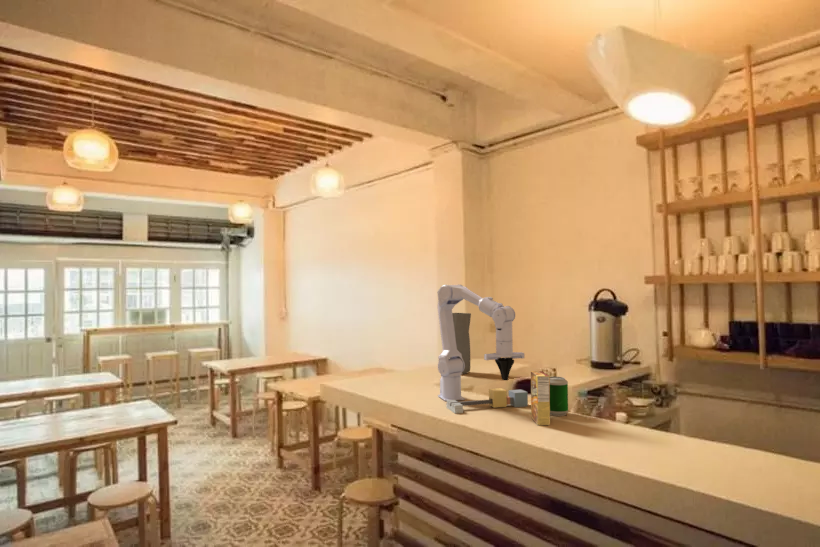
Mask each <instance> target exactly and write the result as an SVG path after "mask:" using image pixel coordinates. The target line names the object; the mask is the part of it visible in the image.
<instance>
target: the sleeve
mask: <svg viewBox="0 0 820 547" xmlns="http://www.w3.org/2000/svg"><path fill="white" fill-rule="evenodd" d="M507 392H508V390H506V389H504V388H502V387H501V388H489V389H488V400H490V399H493V404H488V405H489V406H490V407H492V408H506V407H507V396H508V395H507V394H508V393H507Z"/></svg>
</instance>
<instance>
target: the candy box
mask: <svg viewBox="0 0 820 547" xmlns="http://www.w3.org/2000/svg"><path fill="white" fill-rule="evenodd" d="M550 377H551V376H550V375H549V374H547V373H546V372H544V371H542V370H540V371H539V370H531V371H530V416H531V417H530V418H531V419H532V420H533V422H535V424H536V425H537V426H551V415H550Z"/></svg>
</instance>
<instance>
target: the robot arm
mask: <svg viewBox="0 0 820 547" xmlns="http://www.w3.org/2000/svg"><path fill="white" fill-rule="evenodd" d="M437 299H438V300H437V313H438V314H437V315H438V320H439V321H438V322H439V330H440V337H441V346H442V352H441V353H440V354H439V355H438V363H437V370H438V372H439V374H440V376H441V377H440V379H439V394H437V397H438V398H440V399H441V400H444V402H447V400H456V401H464V400H465V401H466V398H465V397H463V396H462V375H463V374H462V372H463V371H464V368H465V363H464V361H463V359H462V354H461V353H460V352H459V351H458V350H457V347H456V339H455V331H454V323H453V315H452V313H453V309H454V308H455V306H456V305H458V304H459V303H460V302H462V301H463V300H465V301H467V302H469V303H471V304H473V305H475V306H477V307H478V310H479V312H482V313H483V314H485V315H486V316H489V317H490V318H491V319H492V320H493V323H494V327H495V352H493V353H485V354H483V358H484V359H483V360H485V361H490V360H492V361H493V360H494V362H495V363H496V365H497V367H498V370H499V373H500V376H501V380H503V381H508V380H509V378H510V377H509V376H510V373H511V370H512V367H513V365H514V363H515V360H514V359H525V358H526V357H525V352H523V351H521V352H517V351H516V352H514V349H513V345H514V344H513V343H514V342H513V322H514V321H515V319H516V312H515V309H513V307H511V306H510V305H505V306H504V305H503V303H502V302H498V301H495V300H493V299H494V298H493V297H492V296H485V297H482V296H480V295H478V294H477V293H475V292H474V291H472V290H470V289H469V288H468V287H467V286H464V285H462V284H443V285H441V286H440V288H439V289H438V290H437ZM450 357H452V358H450Z"/></svg>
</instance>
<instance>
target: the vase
mask: <svg viewBox="0 0 820 547" xmlns="http://www.w3.org/2000/svg"><path fill="white" fill-rule="evenodd" d="M452 315H453V323H454V331H455V339H456V347H457V350H458V351H459V352H460V353H461V354H462V359H463V361H464V363H465V368H464V371H463V372H462V375H467V374H468V373H470V371H471V341H470V340H471V339H470V324H471V317H472V313H470V312H452ZM450 358H452V357H450ZM450 358H449V359H450Z"/></svg>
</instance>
